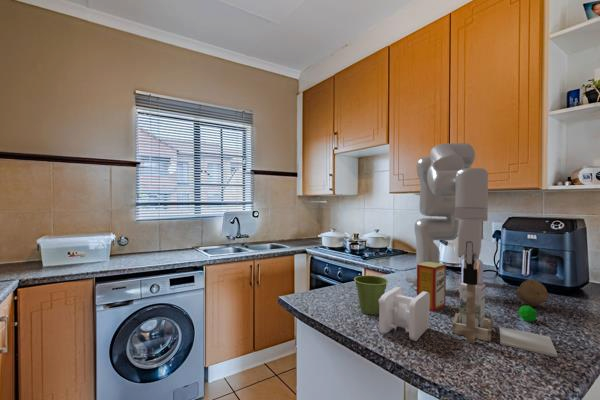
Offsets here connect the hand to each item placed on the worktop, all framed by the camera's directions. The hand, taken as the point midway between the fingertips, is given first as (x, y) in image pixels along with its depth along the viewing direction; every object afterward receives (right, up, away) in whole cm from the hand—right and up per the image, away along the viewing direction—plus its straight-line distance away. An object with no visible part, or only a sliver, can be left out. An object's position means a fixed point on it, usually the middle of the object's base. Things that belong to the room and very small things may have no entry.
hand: (470, 283), depth 79 cm
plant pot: (-20, -17, +26) cm, 37 cm away
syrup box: (+7, -18, +11) cm, 22 cm away
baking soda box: (+4, -18, +32) cm, 36 cm away
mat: (+18, -18, +4) cm, 26 cm away
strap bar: (+7, -1, +11) cm, 13 cm away
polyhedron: (+30, -18, +19) cm, 40 cm away
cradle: (+7, -17, +11) cm, 21 cm away
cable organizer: (-14, -18, +10) cm, 24 cm away
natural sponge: (+42, -18, +33) cm, 57 cm away
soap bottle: (+38, -18, +64) cm, 77 cm away
